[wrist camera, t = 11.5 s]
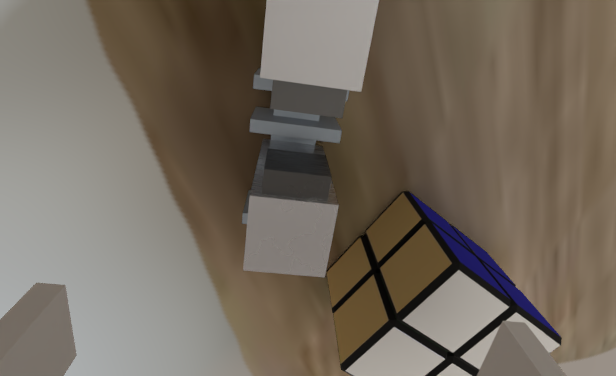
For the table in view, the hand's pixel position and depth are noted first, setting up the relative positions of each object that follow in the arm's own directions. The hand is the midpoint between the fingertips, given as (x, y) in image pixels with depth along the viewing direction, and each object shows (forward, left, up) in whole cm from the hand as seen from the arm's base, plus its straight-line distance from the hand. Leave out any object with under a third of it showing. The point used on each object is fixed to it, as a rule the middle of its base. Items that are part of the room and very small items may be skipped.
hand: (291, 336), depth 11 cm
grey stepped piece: (-4, 0, -17) cm, 18 cm away
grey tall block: (0, 0, -15) cm, 15 cm away
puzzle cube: (+8, +11, -18) cm, 22 cm away
